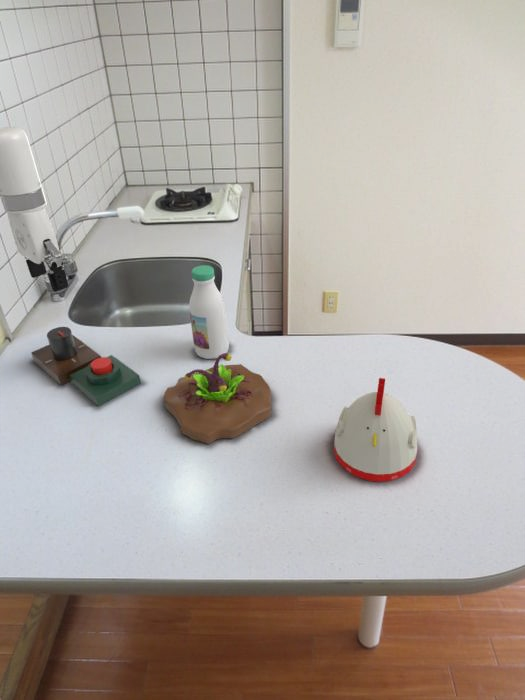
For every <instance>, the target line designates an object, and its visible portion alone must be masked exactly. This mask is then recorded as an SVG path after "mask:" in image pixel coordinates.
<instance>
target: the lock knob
mask: <svg viewBox="0 0 525 700" xmlns="http://www.w3.org/2000/svg"><path fill="white" fill-rule="evenodd" d="M46 339H47V342H48V345H49V344H50V347H51V350H52V353H53V357H54V358H55V359H56V360H67V359H70V358H72V357H74V356H75V355H76V354H77V349H76V346H75V342H74V339H73V332H72V329H71V328H70V327H68V326H58V327H54V328H53V329H50V330H49V331H48V332H47V333H46Z"/></svg>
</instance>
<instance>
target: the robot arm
mask: <svg viewBox="0 0 525 700" xmlns="http://www.w3.org/2000/svg"><path fill="white" fill-rule="evenodd" d="M0 200H1V204H2V206H3V209H4V212H5V213H7V218H8V222H9V226H10V230H11V233H12V236H13V240H14V243H15V247H16V250H17V252H18V253H19V255H21V256H22V257H24V259H25V262H26V266H27V268H28V271H29V274H30V277H31V278H33V279H35V278H38V277H41V276H43V275H47V277H48V280H49V284H50V287H51V290H52V292H54V293H57V292H58V291H62V290H65V289H67V288H69V287H70V284H69V281H68V278H67V275H66V272H65V266H64V261H63V255H62V253H61V251H60V248H59V244H58V241H57V237H56V234H55V231H54V228H53V226H52V223H51V219H50V218H49V215H48V212H47V210H46V207H47V205H48V202H47V198H46V195H45V192H44V187H43V185H42V182H41V179H40V174H39V171H38V168H37V164H36V162H35V157H34V154H33V151H32V148H31V144H30V141H29V138H28V135H27V133H26V131H24V130H23V129H22V128H21V127H17V126H5V127H4V126H3V127H2V126H1V127H0ZM51 261H52V262H51ZM49 262H51V264H50V263H49Z"/></svg>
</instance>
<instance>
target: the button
mask: <svg viewBox="0 0 525 700" xmlns="http://www.w3.org/2000/svg"><path fill="white" fill-rule="evenodd" d="M106 357H107V356H106ZM106 357H105V356H103V357H102V356H101V358H97V359H95V360H94V361H93V362H92V363H91V367H92V371H93V373H94V374H95V375H102V374H106V373H108V372H110V371H111V370H112V369H113V367H112V363H111V360H110V359H109V358H106Z"/></svg>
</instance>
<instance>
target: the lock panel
mask: <svg viewBox="0 0 525 700" xmlns="http://www.w3.org/2000/svg"><path fill="white" fill-rule="evenodd" d="M72 335H73V334H72ZM73 339H74V342H75V346H76V349H77V354H76V355H75V356H74V357H72V358H70V359H67V360H56V359H55V358H54V357H53V353H52V350H51V347H50V344H49V343H48V344H47V345H45V346H43V347H40V348H39V349H36V350H33V351H31V352H30V353H31V356H32V359H33V362H34V363H35V364H36V365H37V366H39V367H40V368H41V369H42V370H43V371H44V372H45V373H46V374H47V375H48V376H50V377H51V378H52V379H53V380H54V381H55V382H56V383H57V384H59V385H60V386H64V385H65V384H67V383H69V382H72V381H71V378H70V375H71V374H73V373H75V372H77V371H79V370H81V369H83V368H85V367H87V366H88V365H89V364H90V363H92V362H93V361H94V360H95V359H97V358H101V357H102V356H101V355H100V354H99V353H98V352H97V351H95V350H93V349H92V348H91V347H90V346H88V345H87V344H85V343H84V342H83V341H82V340H81V339H79V338H78V337H76V336H75V335H73Z"/></svg>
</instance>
